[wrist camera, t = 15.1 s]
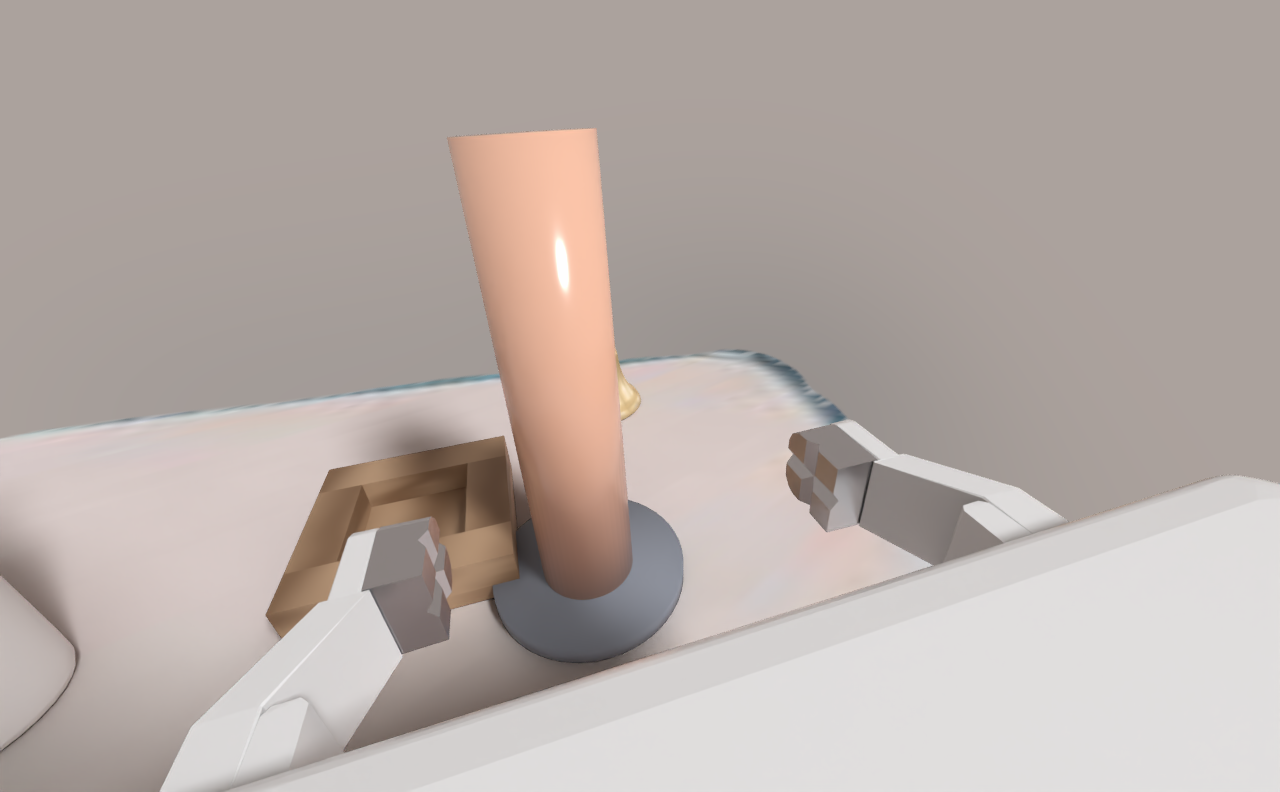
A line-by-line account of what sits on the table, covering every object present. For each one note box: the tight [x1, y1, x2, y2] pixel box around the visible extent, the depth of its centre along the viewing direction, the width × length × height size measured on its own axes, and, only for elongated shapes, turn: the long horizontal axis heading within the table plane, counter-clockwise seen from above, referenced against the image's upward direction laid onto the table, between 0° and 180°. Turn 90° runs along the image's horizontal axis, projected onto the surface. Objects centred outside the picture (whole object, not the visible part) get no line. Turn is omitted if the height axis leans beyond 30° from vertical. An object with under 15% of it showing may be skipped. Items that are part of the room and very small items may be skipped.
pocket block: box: [266, 436, 520, 638], centre depth 31 cm, size 12×12×3 cm
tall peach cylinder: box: [447, 128, 633, 600], centre depth 23 cm, size 5×5×22 cm
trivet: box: [493, 500, 683, 663], centre depth 28 cm, size 11×11×1 cm
